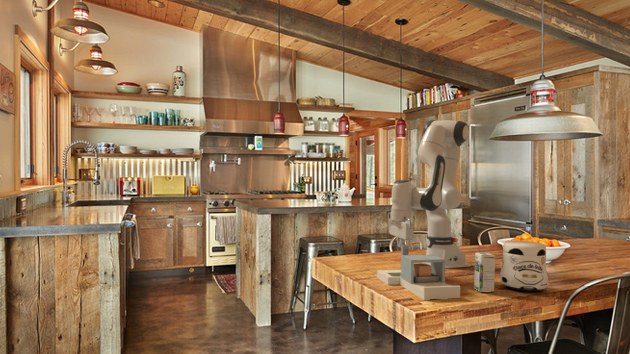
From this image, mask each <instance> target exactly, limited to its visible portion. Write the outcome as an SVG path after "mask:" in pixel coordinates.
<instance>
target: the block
mask: <svg viewBox="0 0 630 354" xmlns="http://www.w3.org/2000/svg"><path fill="white" fill-rule="evenodd" d="M414 275H415V276H431V266H430V265H428V264H426V263H425V264H424V263H414Z"/></svg>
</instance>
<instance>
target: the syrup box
mask: <svg viewBox="0 0 630 354" xmlns="http://www.w3.org/2000/svg"><path fill="white" fill-rule="evenodd" d="M474 256H475V257H474V275H473V276H474V277H473V279H474V282H473V288H474V290H475V289H476V290H475V291H477V290H478V291H477V292H479V291H480V292H485V291H494V292H495V274H496V273H495V272H496V255H494V254H491V253H489V252H479V251H478V252H475V253H474ZM480 292H479V293H480Z"/></svg>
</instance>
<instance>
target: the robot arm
mask: <svg viewBox="0 0 630 354" xmlns="http://www.w3.org/2000/svg"><path fill="white" fill-rule="evenodd" d="M469 127H470V126H469V125H468V123H467V122H465V121H462V120H453V119H442V120H441V119H438V120H433V119H432V120H428V121H427V122H425V124H424V126H423V129H422V137H421V139H420V140H421V141H420V143H419V146H418V150H417V156H418V159H419V160H420V161H421V162H422V163H423V164H425V165H426V166H428V167H430V168H431V174H430V178H429V179H430V180H429V184H428V186H426V187H417V186H415V185H414V184H413V183H412V182H411V180H409V179H399V180H396V181H394V182H393V184H392V188H391V203H392V206H391V209H390V212H389V213H388V214H387V218H388V232H389V234H390V235H391V236H394V237H396V242H397V247H398V248H400V249H401V245H405V242H406V241H413V240H414V239H415V237H414V236H415V234H414V233H415V231H414V223H413V222H412V209H417V210H424V211H425V214H426V219H427V235H426V251H425V252H426V253H425V255H435V256H438V257H440V258H443V259H445V269H454V268H455V269H456V268H465V267H466V268H468V267H472V266H471V263H470V262H468V261H467V258H466V254H465V253H464V251H463V250H462V249H460V248H459V247H458V246H457V245H455V243H458V241H459V239H458V238H457V237H452V236H451V235H452V233H451V229H452V227H451V226H452V225H451V224H452V222H451V219H450V217H449V216H448V214H447V211H446V210H451V209H456V208H458V207H459V206H460V205H461V202H462V194H461V192H460V191H459V189H458V185H457V172H458V168H459V161H460V156H461V146H462V145H463V144H464V143H465V142H466V141H467V139H468V138H469V135H470V128H469ZM425 263H426V264H428V265H430V266H431V262H425ZM425 263H423V264H425Z"/></svg>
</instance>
